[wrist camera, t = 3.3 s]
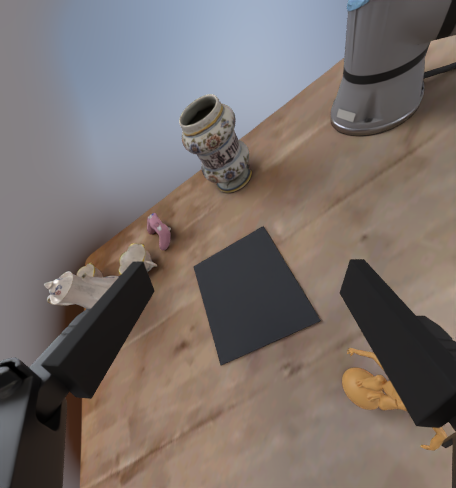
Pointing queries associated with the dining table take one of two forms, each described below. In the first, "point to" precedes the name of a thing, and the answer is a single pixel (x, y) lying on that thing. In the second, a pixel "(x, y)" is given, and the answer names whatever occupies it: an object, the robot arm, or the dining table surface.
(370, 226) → the dining table surface
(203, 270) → the mat
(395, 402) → the figurine
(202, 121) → the apothecary jar
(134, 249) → the chinaware
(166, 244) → the video game controller
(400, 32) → the robot arm
